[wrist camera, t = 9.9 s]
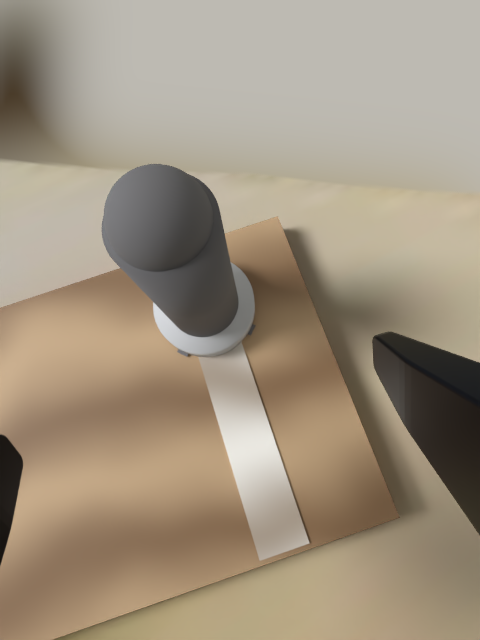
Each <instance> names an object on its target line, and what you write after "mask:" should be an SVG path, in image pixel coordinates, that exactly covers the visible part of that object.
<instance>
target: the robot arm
mask: <svg viewBox="0 0 480 640" xmlns="http://www.w3.org/2000/svg"><path fill="white" fill-rule="evenodd" d="M372 343H373V362H374V368H375V371H376V373H377V375H378V377H379V379H380V381H381V383H382V384H383V386H384V388H385V390H386V392H387V394H388V396H389V398H390V400H391V401H392V403H393V405H394V407H395V409H396V411H397V413H398V415H399V416H400V418H401V420H402V422H403V424H404V425H405V427H406V429H407V430H408V432H409V433H410V435H411V436H412V438H413V439H414V440H415V442H416V443H417V445H418V446H419V448H420V449H421V451H422V452H423V454H424V455H425V456H426V458H427V459H428V461H429V462H430V464H431V465H432V467H433V468H434V470H435V471H436V472H437V474H438V475H439V477H440V478H441V480H442V481H443V483H444V484H445V486H446V487H447V488H448V490H449V491H450V493H451V494H452V496H453V497H454V499H455V500H456V501H457V503H458V504H459V506H460V507H461V509H462V510H463V512H464V513H465V515H466V516H467V517H468V519H469V520H470V522H471V523H472V525H473V526H474V528H475V529H476V531H477V532H478V533H479V535H480V363H479V362H476V361H473V360H470V359H468V358H465V357H462V356H459V355H456V354H453V353H450V352H448V351H445V350H442V349H439V348H436V347H433V346H431V345H428V344H425V343H422V342H419V341H416V340H414V339H411V338H408V337H405V336H402V335H399V334H397V333H394V332H385V333H382V334H378V335H375V336H374V337H373V341H372ZM22 470H23V459H22V456H21V455H20V453H19V452H18V451H17V450H16V448H15V447H14V446H13V444H12V443H11V442H10V440H9V439H8V438H7V437H6V436H5V435H3V434H0V566H1V562H2V559H3V555H4V552H5V549H6V545H7V542H8V538H9V535H10V531H11V527H12V522H13V517H14V512H15V507H16V502H17V496H18V491H19V486H20V481H21V476H22Z"/></svg>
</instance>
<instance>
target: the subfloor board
mask: <svg viewBox="0 0 480 640" xmlns="http://www.w3.org/2000/svg"><path fill="white" fill-rule="evenodd" d="M225 238H226V243H227V248H228V252H229V257H230V261H231V263H233V264H234V265H236V266H237V267H238V268H240V269H241V271H242V272H243V273H244V274H245V275H246V277H247V278H248V280H249V282H250V284H251V287H252V289H253V294H254V302H255V315H254V320H253V323H252V326H251V329H250V330H249V332H248V334H247V335H246V337H245V338H244V339H243V340H242V342H241V343H240V344H238V345H237V346H236V347H235V348H233V349H232V350H230V351H228V352H226V353H224V354H221V355H218V356H213V357H198V356H193V355H190V354H187V353H185V352H183V351H181V350H179V349H178V348H177V347H175V346H174V345H173V344H171V343H170V342H169V341H168V340H167V339H166V338H165V337H164V336H163V334H162V333H161V332H160V330H159V328H158V326H157V324H156V322H155V318H154V312H153V301H152V300H151V299H150V298H149V297H148V296H147V295H146V294H145V293H144V292H143V291H142V290H141V289H140V288H139V287H138V286H137V284H136V283H135V282H134V281H133V280H132V279H131V278H130V277H129V276H128V275H127V274H126V273H125V272H124V271H123V270H122V269H121V268H120V269H117V270H114V271H110V272H107V273H104V274H101V275H98V276H95V277H92V278H89V279H86V280H83V281H80V282H77V283H74V284H71V285H68V286H65V287H62V288H59V289H56V290H53V291H50V292H47V293H44V294H41V295H38V296H35V297H32V298H29V299H26V300H23V301H20V302H17V303H14V304H11V305H7V306H4V307H1V308H0V434H3V435H5V436H6V437H7V438H8V439H9V440H10V442H11V443H12V444H13V446H14V447H15V448H16V450H17V451H18V452H19V453H20V455H21V456H22V459H23V470H22V476H21V481H20V486H19V491H18V496H17V502H16V507H15V512H14V517H13V522H12V527H11V531H10V535H9V538H8V542H7V545H6V549H5V552H4V555H3V559H2V562H1V566H0V640H53V639H56V638H59V637H61V636H64V635H67V634H70V633H73V632H76V631H78V630H81V629H84V628H87V627H90V626H93V625H96V624H98V623H101V622H104V621H107V620H110V619H113V618H115V617H118V616H121V615H124V614H127V613H130V612H132V611H135V610H138V609H141V608H144V607H147V606H150V605H152V604H155V603H158V602H161V601H164V600H167V599H169V598H172V597H175V596H178V595H181V594H184V593H186V592H189V591H192V590H195V589H198V588H201V587H204V586H206V585H209V584H212V583H215V582H218V581H221V580H223V579H226V578H229V577H232V576H235V575H238V574H240V573H243V572H246V571H249V570H252V569H255V568H258V567H260V566H263V565H266V564H269V563H272V562H275V561H277V560H280V559H283V558H286V557H289V556H292V555H294V554H297V553H300V552H303V551H306V550H309V549H312V548H314V547H317V546H320V545H323V544H326V543H329V542H331V541H334V540H337V539H340V538H343V537H346V536H348V535H351V534H354V533H357V532H360V531H363V530H366V529H368V528H371V527H374V526H377V525H380V524H383V523H385V522H388V521H391V520H394V519H397V518H400V517H399V515H398V512H397V510H396V507H395V505H394V502H393V500H392V497H391V495H390V492H389V490H388V487H387V485H386V483H385V480H384V478H383V475H382V473H381V470H380V468H379V465H378V463H377V460H376V458H375V455H374V453H373V450H372V448H371V446H370V443H369V441H368V438H367V436H366V433H365V431H364V428H363V426H362V423H361V421H360V418H359V416H358V413H357V411H356V408H355V406H354V404H353V401H352V399H351V396H350V394H349V391H348V389H347V386H346V384H345V381H344V379H343V376H342V374H341V371H340V369H339V367H338V364H337V362H336V359H335V357H334V354H333V352H332V349H331V347H330V344H329V342H328V339H327V337H326V334H325V332H324V330H323V327H322V325H321V322H320V320H319V317H318V315H317V312H316V310H315V307H314V305H313V302H312V300H311V297H310V295H309V293H308V290H307V288H306V285H305V283H304V280H303V278H302V275H301V273H300V270H299V268H298V265H297V263H296V260H295V258H294V256H293V253H292V251H291V248H290V246H289V243H288V241H287V238H286V236H285V233H284V231H283V228H282V226H281V223H280V221H279V218H278V216H277V217H274V218H271V219H268V220H265V221H262V222H259V223H256V224H253V225H250V226H247V227H244V228H241V229H238V230H235V231H232V232H229V233H226V234H225Z"/></svg>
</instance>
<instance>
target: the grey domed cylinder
mask: <svg viewBox="0 0 480 640" xmlns="http://www.w3.org/2000/svg"><path fill="white" fill-rule="evenodd" d="M102 237H103V242H104V245H105V247H106V250H107V252H108V253H109V255H110V257H111V258H112V259H113V260H114V262H115V263H116V264H117V265H118V266H119V267H120V268H121V269H122V270H123V271H124V272H125V273H126V274H127V275H128V276H129V277H130V278H131V279H132V280H133V281H134V282H135V283H136V284H137V286H138V287H139V288H140V289H141V290H142V291H143V292H144V293H145V294H146V295H147V296H148V297H149V298H150V299H151V300H152V301H153V312H154V318H155V322H156V324H157V326H158V328H159V330H160V332H161V333H162V334H163V336H164V337H165V338H166V339H167V340H168V341H169V342H170V343H171V344H173V345H174V346H175V347H177V348H178V349H179V350H181V351H183V352H185V353H187V354H190V355H193V356H198V357H213V356H218V355H221V354H224V353H226V352H228V351H230V350H232V349H233V348H235V347H236V346H237V345H238V344H240V343H241V342H242V340H243V339H244V338H245V337H246V335H247V334H248V332H249V330H250V329H251V326H252V323H253V320H254V315H255V302H254V294H253V289H252V287H251V284H250V282H249V280H248V278H247V277H246V275H245V274H244V273H243V272H242V271H241V269H240V268H238V267H237V266H236V265H234V264H233V263H231V261H230V257H229V252H228V248H227V243H226V238H225V234H224V229H223V224H222V220H221V215H220V210H219V206H218V203H217V201H216V199H215V197H214V195H213V193H212V192H211V191H210V189H209V188H208V187H207V186H206V185H205V184H204V183H203V182H201V181H200V180H199V179H197V178H195V177H193V176H191V175H189V174H187V173H185V172H183V171H182V170H180V169H177V168H175V167H172V166H167V165H162V164H149V165H144V166H140V167H137V168H135V169H133V170H131V171H129V172H127V173H126V174H125V175H123V176H122V177H121V178H120V179H119V180H118V181H117V182H116V183H115V184H114V186H113V187H112V189H111V190H110V192H109V195H108V197H107V200H106V203H105V208H104V216H103V221H102Z"/></svg>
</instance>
